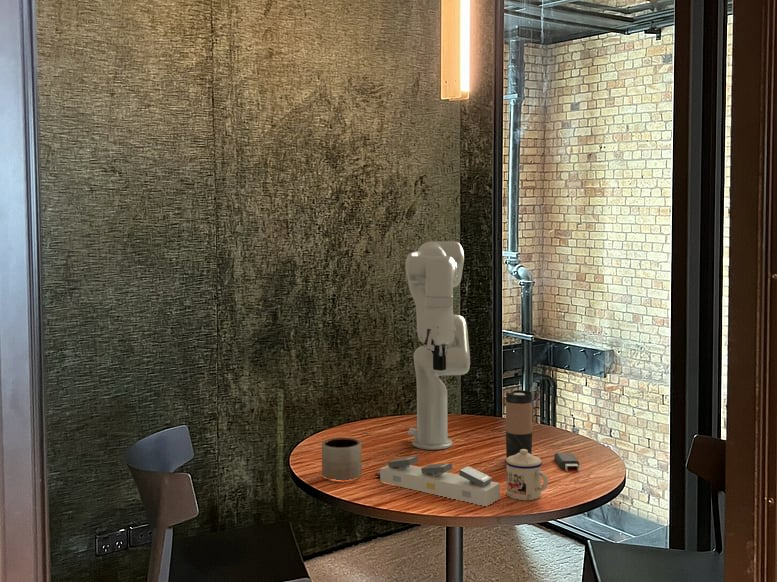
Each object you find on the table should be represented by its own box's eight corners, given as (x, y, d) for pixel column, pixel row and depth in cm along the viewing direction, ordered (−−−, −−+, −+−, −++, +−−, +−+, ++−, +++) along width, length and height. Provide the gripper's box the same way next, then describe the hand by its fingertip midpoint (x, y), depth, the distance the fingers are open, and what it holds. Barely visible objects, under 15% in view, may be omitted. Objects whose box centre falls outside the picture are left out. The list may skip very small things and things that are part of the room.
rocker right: (458, 475, 192) (460, 469, 191) (466, 471, 195) (468, 465, 195) (482, 487, 188) (484, 481, 188) (490, 482, 191) (491, 477, 191)
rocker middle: (422, 473, 198) (420, 468, 198) (430, 469, 202) (429, 464, 202) (444, 472, 194) (443, 466, 194) (452, 468, 197) (451, 463, 197)
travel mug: (532, 464, 220) (532, 395, 218) (505, 463, 221) (505, 394, 220) (532, 457, 227) (532, 390, 226) (506, 456, 229) (506, 389, 227)
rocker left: (389, 467, 204) (387, 462, 205) (397, 463, 208) (396, 458, 208) (409, 465, 200) (408, 459, 201) (418, 461, 204) (417, 455, 204)
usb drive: (572, 460, 225) (572, 450, 225) (582, 472, 213) (582, 462, 213) (554, 460, 225) (554, 451, 225) (563, 472, 213) (563, 463, 213)
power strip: (368, 480, 207) (367, 462, 207) (383, 473, 213) (383, 456, 212) (486, 507, 186) (486, 487, 185) (500, 498, 191) (500, 479, 191)
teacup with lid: (498, 494, 195) (498, 449, 194) (522, 486, 200) (522, 443, 200) (534, 507, 185) (534, 459, 185) (558, 498, 191) (559, 452, 190)
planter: (331, 485, 203) (331, 450, 203) (316, 474, 213) (315, 440, 212) (368, 479, 208) (368, 444, 208) (351, 468, 218) (351, 435, 217)
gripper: (442, 300, 217) (442, 364, 218) (412, 304, 205) (412, 372, 206) (465, 301, 212) (465, 367, 214) (436, 305, 200) (436, 375, 202)
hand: (439, 369), depth 210 cm, fingers closed
